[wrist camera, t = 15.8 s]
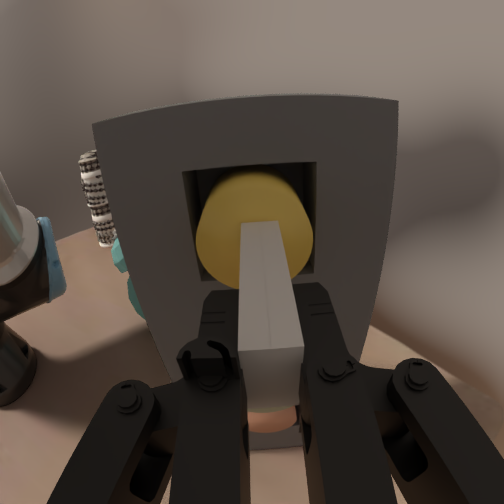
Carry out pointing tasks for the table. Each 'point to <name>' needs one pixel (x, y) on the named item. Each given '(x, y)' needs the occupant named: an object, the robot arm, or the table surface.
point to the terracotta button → (272, 420)
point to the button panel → (250, 153)
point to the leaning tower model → (97, 198)
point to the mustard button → (250, 219)
